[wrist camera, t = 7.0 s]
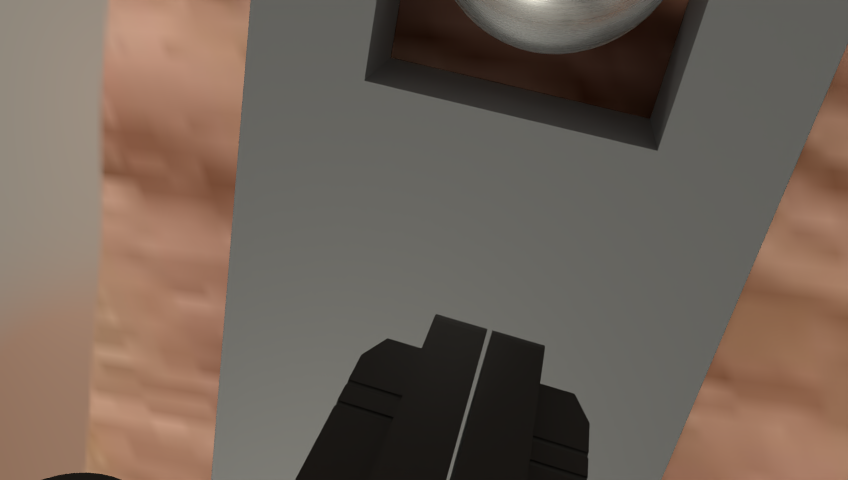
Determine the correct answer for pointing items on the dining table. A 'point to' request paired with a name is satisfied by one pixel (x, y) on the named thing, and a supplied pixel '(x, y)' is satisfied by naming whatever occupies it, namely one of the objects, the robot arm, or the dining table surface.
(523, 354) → the robot arm
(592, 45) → the steel ball
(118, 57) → the dining table surface
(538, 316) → the hole board
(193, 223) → the dining table surface
